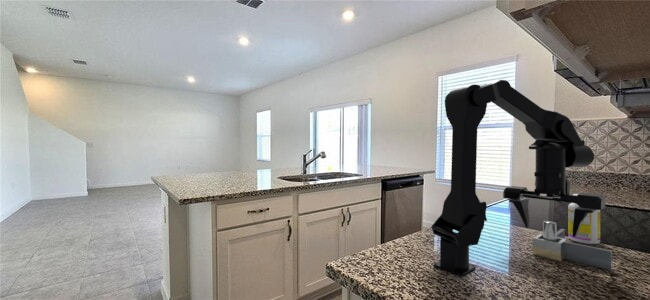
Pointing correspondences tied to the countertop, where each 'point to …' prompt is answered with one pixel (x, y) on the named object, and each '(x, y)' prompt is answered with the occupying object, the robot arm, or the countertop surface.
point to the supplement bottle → (585, 226)
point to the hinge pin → (550, 231)
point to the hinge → (571, 251)
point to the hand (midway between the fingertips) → (549, 231)
